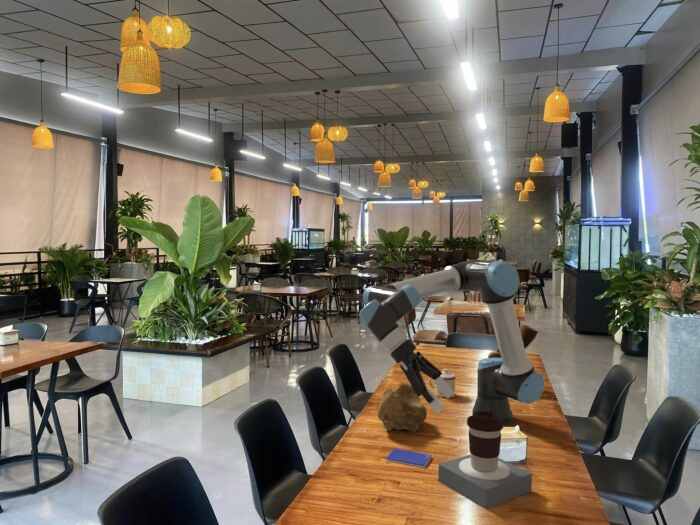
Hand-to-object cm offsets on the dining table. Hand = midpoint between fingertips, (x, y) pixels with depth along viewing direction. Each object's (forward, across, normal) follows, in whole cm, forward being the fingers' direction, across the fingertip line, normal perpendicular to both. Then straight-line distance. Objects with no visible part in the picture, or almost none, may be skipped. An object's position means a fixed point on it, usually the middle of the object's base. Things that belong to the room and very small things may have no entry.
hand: (446, 403), depth 152 cm
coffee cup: (+20, +1, -3) cm, 20 cm away
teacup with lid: (+4, -77, -31) cm, 83 cm away
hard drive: (+8, -7, -25) cm, 27 cm away
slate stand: (+24, +2, -7) cm, 25 cm away
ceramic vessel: (+23, -100, -11) cm, 104 cm away
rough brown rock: (+1, -33, -32) cm, 46 cm away
